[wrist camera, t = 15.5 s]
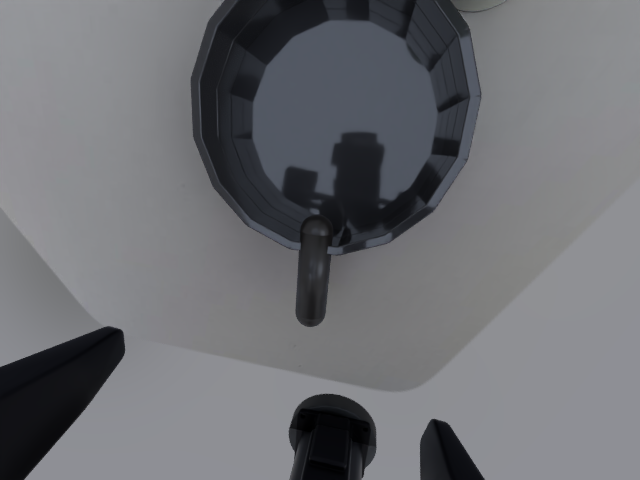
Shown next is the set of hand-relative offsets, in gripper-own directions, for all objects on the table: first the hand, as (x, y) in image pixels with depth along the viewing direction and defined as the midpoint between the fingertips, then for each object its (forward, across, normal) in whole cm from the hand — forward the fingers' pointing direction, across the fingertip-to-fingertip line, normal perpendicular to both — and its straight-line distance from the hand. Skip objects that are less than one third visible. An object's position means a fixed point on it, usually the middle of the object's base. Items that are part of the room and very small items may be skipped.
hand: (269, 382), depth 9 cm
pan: (+13, +1, -6) cm, 15 cm away
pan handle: (+10, 0, +2) cm, 10 cm away
